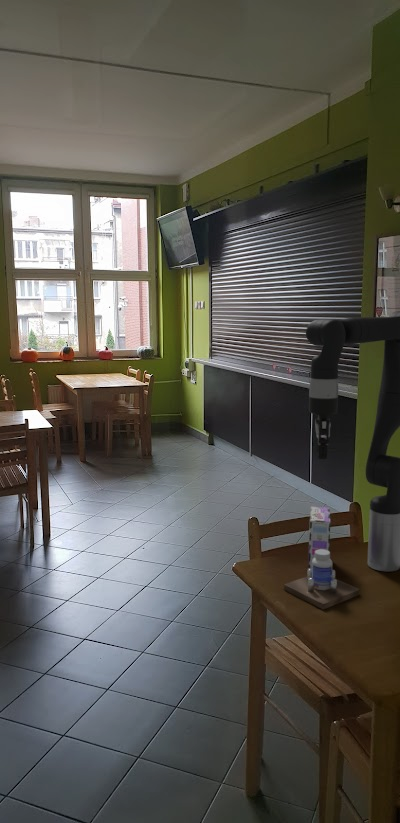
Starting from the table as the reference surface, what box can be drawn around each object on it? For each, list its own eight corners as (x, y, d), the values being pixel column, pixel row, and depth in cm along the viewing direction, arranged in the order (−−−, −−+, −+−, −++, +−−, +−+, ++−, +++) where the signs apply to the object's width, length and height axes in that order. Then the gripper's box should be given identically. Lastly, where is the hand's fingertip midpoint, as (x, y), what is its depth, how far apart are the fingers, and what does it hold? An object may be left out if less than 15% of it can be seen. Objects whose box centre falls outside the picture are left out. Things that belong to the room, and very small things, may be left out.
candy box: (328, 577, 170) (330, 521, 167) (307, 575, 171) (309, 520, 168) (328, 558, 183) (330, 506, 180) (308, 557, 184) (310, 505, 182)
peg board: (319, 576, 170) (319, 571, 170) (359, 594, 159) (359, 589, 159) (283, 589, 162) (284, 584, 162) (323, 609, 151) (323, 604, 150)
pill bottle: (334, 590, 158) (336, 555, 157) (315, 591, 157) (316, 556, 156) (326, 581, 163) (328, 547, 162) (308, 582, 162) (309, 548, 161)
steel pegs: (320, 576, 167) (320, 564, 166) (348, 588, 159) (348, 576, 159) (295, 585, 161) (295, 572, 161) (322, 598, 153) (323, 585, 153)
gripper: (340, 399, 151) (337, 461, 154) (336, 392, 165) (334, 450, 168) (310, 398, 152) (308, 460, 155) (308, 391, 166) (306, 449, 169)
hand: (321, 455), depth 161 cm, fingers open, 8 cm apart
